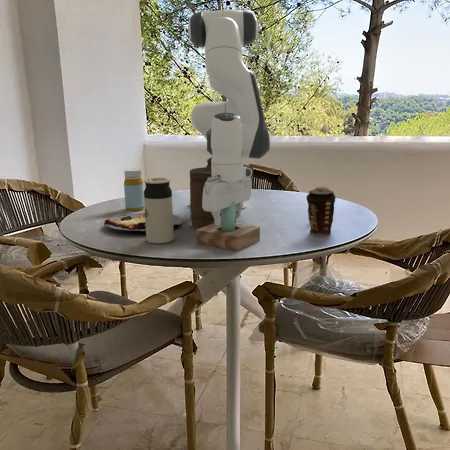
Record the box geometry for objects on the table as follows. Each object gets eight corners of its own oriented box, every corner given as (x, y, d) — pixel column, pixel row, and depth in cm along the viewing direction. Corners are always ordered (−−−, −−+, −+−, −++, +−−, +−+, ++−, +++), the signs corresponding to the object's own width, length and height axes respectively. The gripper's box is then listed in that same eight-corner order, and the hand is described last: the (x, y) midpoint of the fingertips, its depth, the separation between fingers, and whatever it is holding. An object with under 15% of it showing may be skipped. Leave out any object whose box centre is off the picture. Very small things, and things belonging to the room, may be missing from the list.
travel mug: (174, 236, 147) (172, 177, 143) (172, 244, 139) (170, 181, 135) (148, 236, 147) (145, 177, 142) (144, 244, 139) (141, 182, 135)
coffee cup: (316, 228, 154) (318, 187, 151) (339, 232, 148) (341, 190, 145) (300, 233, 148) (301, 191, 145) (324, 238, 142) (325, 195, 139)
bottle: (146, 207, 188) (143, 168, 184) (142, 211, 181) (140, 171, 177) (128, 207, 188) (125, 168, 184) (123, 211, 181) (121, 171, 177)
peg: (218, 241, 141) (218, 200, 138) (229, 239, 143) (228, 199, 140) (227, 244, 138) (227, 203, 135) (238, 241, 140) (237, 201, 137)
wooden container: (216, 217, 170) (215, 154, 165) (245, 225, 159) (245, 157, 154) (181, 224, 161) (179, 157, 155) (210, 233, 150) (208, 161, 144)
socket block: (196, 243, 140) (195, 229, 139) (219, 233, 149) (219, 221, 148) (237, 251, 132) (237, 236, 131) (259, 240, 142) (259, 227, 141)
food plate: (133, 240, 143) (133, 228, 142) (90, 228, 159) (89, 217, 158) (195, 226, 161) (195, 215, 160) (150, 216, 177) (150, 206, 176)
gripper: (215, 179, 126) (216, 230, 129) (255, 169, 142) (255, 215, 146) (195, 177, 129) (197, 227, 132) (237, 167, 145) (237, 212, 149)
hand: (228, 221), depth 139 cm, fingers open, 8 cm apart
